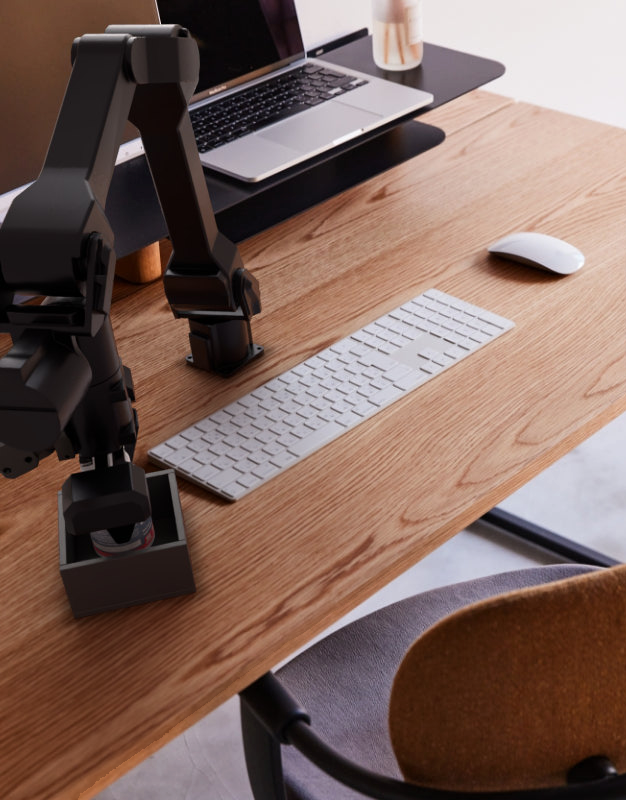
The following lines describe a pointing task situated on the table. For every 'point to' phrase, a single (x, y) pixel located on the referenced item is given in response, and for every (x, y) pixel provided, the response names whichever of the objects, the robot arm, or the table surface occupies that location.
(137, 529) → the pill bottle
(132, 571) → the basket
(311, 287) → the table surface
